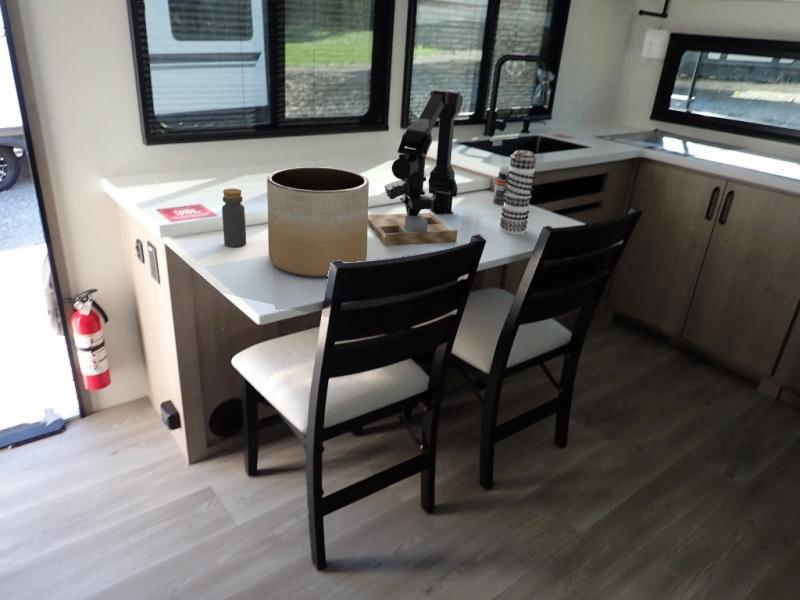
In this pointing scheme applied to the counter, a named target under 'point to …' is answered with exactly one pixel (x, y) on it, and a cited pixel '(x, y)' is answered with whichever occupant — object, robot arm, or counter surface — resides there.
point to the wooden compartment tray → (394, 232)
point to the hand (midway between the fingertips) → (410, 223)
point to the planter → (316, 219)
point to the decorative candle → (518, 192)
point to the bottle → (233, 218)
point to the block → (415, 224)
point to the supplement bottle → (500, 188)
